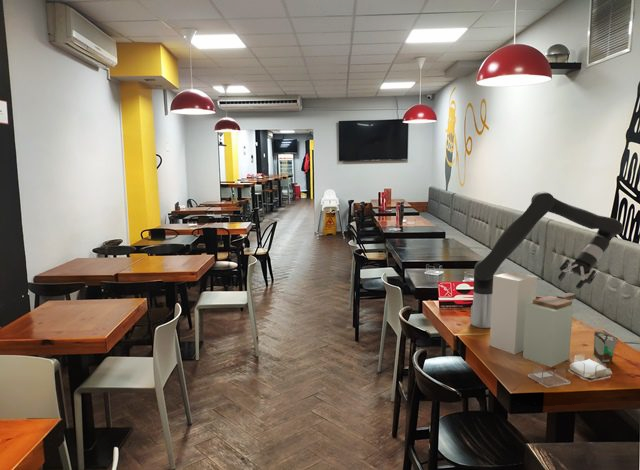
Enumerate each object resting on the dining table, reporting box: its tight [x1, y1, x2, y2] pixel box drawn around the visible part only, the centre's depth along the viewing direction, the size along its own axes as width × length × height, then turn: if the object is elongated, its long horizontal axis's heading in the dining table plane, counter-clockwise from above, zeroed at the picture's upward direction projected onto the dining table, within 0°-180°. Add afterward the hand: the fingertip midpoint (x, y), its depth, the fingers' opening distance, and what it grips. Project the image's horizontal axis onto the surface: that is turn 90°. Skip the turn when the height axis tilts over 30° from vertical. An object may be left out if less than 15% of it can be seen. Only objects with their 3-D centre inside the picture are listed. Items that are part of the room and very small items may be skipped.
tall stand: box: [489, 271, 538, 355], centre depth 204 cm, size 12×14×32 cm
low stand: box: [522, 302, 574, 368], centre depth 192 cm, size 12×14×23 cm
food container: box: [593, 330, 618, 365], centre depth 192 cm, size 12×6×10 cm, turn 168°
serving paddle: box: [533, 292, 577, 309], centre depth 194 cm, size 10×22×2 cm, turn 125°
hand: (568, 283), depth 208 cm, fingers open, 8 cm apart
